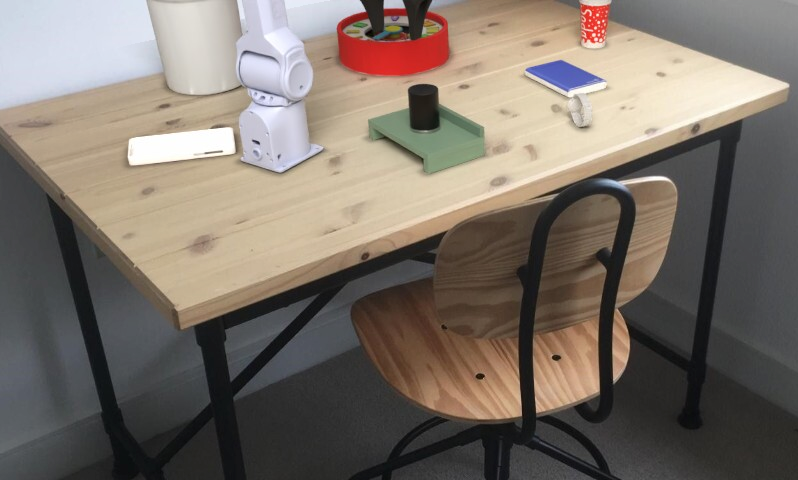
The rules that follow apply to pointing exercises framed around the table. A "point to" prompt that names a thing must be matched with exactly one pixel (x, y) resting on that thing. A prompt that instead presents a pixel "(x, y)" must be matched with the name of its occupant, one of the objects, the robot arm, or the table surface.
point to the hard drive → (565, 78)
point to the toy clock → (392, 44)
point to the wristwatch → (576, 105)
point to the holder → (424, 108)
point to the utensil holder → (197, 43)
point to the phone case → (180, 146)
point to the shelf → (433, 138)
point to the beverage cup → (594, 22)
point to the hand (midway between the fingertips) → (397, 34)
